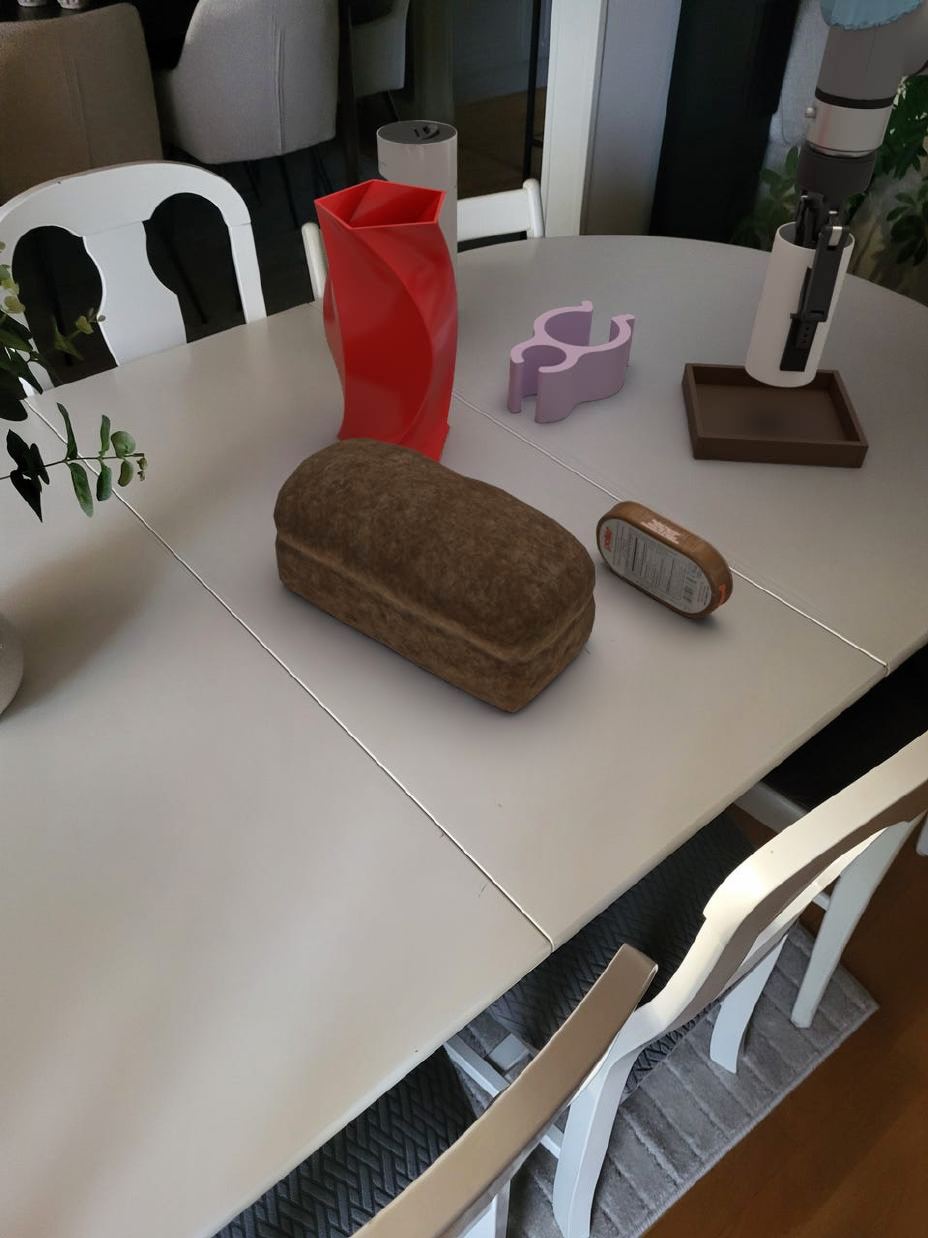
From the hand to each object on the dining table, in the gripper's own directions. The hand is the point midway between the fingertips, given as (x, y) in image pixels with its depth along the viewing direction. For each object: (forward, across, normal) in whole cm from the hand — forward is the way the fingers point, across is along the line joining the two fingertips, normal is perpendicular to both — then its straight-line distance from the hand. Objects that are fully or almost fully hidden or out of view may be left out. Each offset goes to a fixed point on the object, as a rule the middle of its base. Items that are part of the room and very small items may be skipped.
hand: (785, 350), depth 111 cm
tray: (+10, 0, 0) cm, 10 cm away
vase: (+10, +9, -46) cm, 48 cm away
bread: (+10, +38, -38) cm, 55 cm away
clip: (+10, -7, -25) cm, 28 cm away
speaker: (+10, -23, -46) cm, 52 cm away
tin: (+10, +33, -16) cm, 38 cm away
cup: (+3, 0, 0) cm, 3 cm away
